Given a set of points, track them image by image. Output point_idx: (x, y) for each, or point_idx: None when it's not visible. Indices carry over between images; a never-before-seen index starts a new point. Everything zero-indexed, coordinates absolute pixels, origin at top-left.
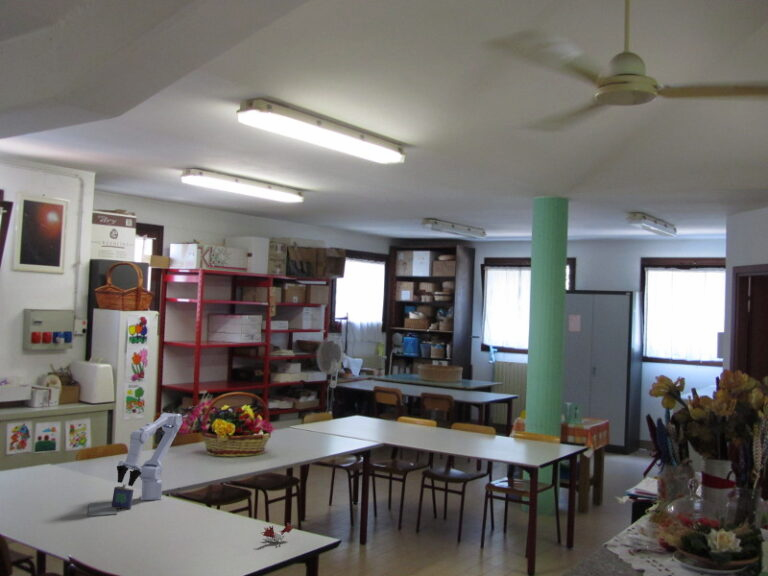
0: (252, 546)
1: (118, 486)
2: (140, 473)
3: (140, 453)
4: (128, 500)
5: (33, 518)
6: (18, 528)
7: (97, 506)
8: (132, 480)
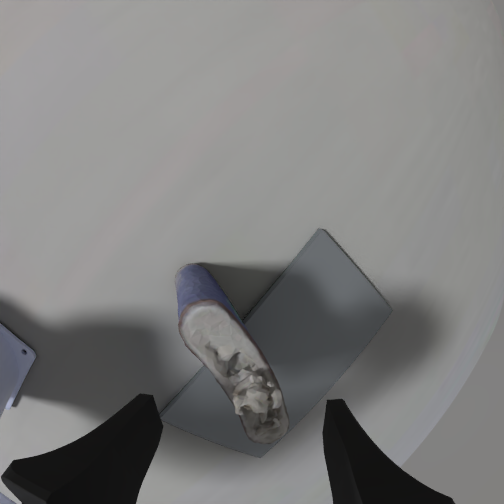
0: None
1: (267, 429)
2: (22, 468)
3: None
4: (215, 286)
5: (432, 395)
6: (483, 335)
7: None
8: (131, 443)
